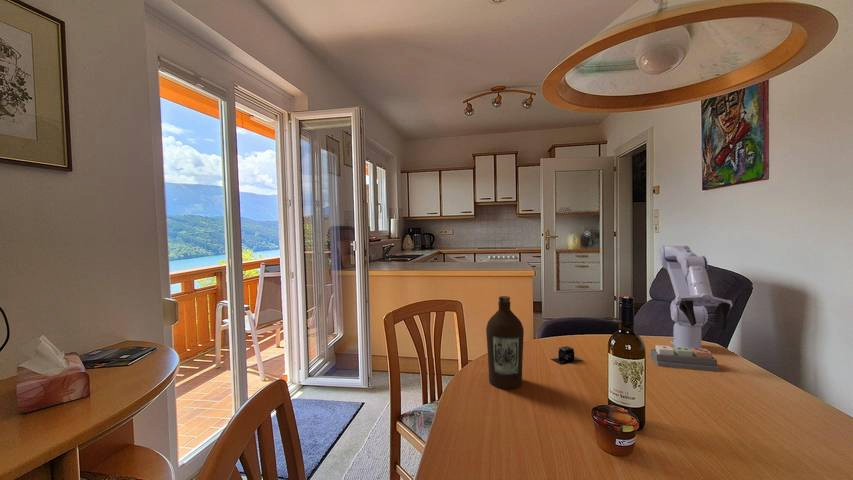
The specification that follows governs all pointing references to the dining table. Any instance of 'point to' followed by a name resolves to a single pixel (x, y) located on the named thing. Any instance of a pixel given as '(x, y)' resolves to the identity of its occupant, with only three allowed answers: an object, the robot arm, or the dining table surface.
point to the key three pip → (701, 353)
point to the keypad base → (684, 361)
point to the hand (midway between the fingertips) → (708, 326)
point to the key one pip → (664, 350)
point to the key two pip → (683, 351)
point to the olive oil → (505, 347)
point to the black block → (564, 358)
